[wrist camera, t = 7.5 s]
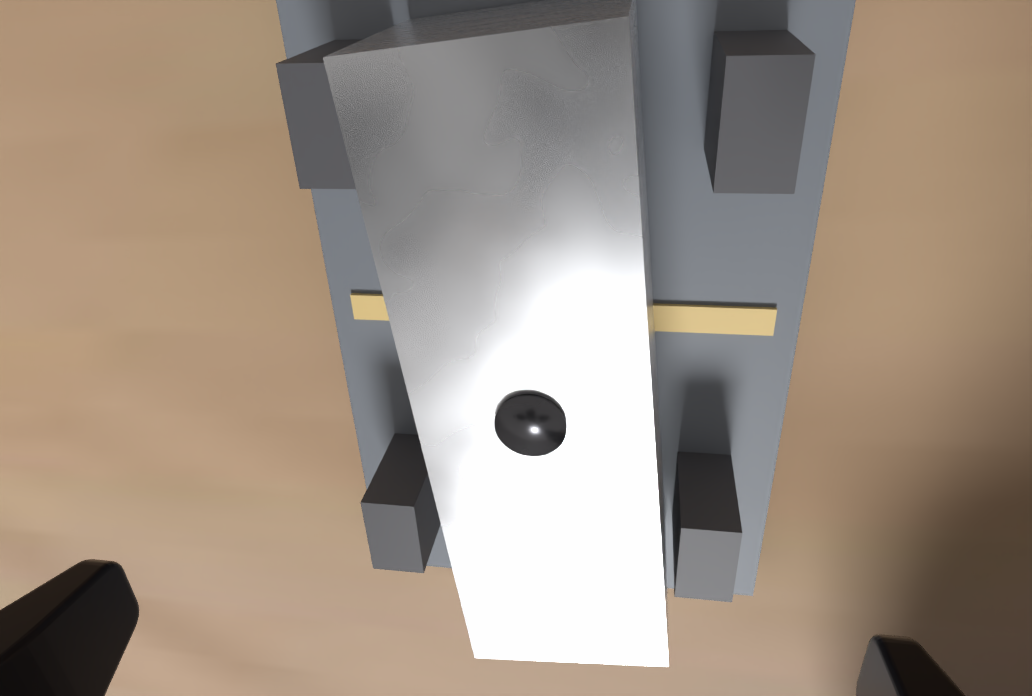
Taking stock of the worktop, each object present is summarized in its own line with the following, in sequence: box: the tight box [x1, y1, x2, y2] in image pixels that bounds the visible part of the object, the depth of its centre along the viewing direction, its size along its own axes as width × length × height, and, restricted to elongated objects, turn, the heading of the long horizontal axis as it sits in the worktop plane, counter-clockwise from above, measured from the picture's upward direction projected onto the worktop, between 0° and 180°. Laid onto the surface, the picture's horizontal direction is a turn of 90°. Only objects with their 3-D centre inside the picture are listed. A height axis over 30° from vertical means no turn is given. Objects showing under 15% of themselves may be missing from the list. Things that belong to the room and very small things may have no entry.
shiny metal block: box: [323, 0, 669, 667], centre depth 14 cm, size 12×4×4 cm, turn 8°
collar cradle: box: [276, 0, 856, 602], centre depth 15 cm, size 16×10×4 cm, turn 2°
